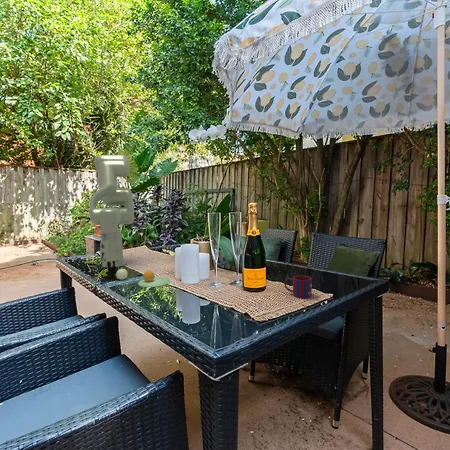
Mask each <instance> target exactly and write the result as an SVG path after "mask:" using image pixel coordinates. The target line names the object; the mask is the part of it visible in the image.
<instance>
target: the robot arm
mask: <svg viewBox="0 0 450 450" xmlns="http://www.w3.org/2000/svg"><path fill="white" fill-rule="evenodd" d="M93 163H94V167H95V170H96V172H97V174H98V189H97V190H96V191H95V193H93V195H92V197H91V199H90V201H89V219H90V222H91V223H92V224H94V225H100V227H99V228H100V238H101V239H100V243H99V257H100V258H99V260H100V261H101V266H102V267H103V268H107V272H108V274H107V275H108V276H116V273H117V268H118V267H123V266H125V265H127V261H126V260H124V251H123V235H122V234H123V233H122V231H121V229H119V226H120V225H122V226H123V225H131V224H133V223H134V221H135V210H134V209H135V208H134V196H133V192H132V190H131V189H130V188H128V187H119V183H118V182H119V181H118V178H126V177H128V176H129V174H130V164H129V163H130V162H129V158H128V156H127V155H125V154H99V155H96V156H95V157H94V162H93ZM101 200H102V203H103V204H104V205H106V206H111V207H103V208H102V207H100V208H99V207H98V208H97V204H98V203H99V202H100V201H101ZM113 206H116V207H113ZM117 206H118V207H117ZM121 206H122V207H121Z"/></svg>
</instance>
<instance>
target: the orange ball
mask: <svg viewBox="0 0 450 450" xmlns="http://www.w3.org/2000/svg"><path fill="white" fill-rule="evenodd" d="M155 275H156V274H155V273H154V271H152V270H146V271H144V272H143V274H142V278H143V279H144V280H145V281H147V282H150V281H152V280H153V279H154V277H155ZM143 279H142V280H143Z"/></svg>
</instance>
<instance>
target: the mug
mask: <svg viewBox="0 0 450 450" xmlns="http://www.w3.org/2000/svg"><path fill="white" fill-rule="evenodd" d="M287 280H291V282H292V289H290V288H289V287H288V286H287ZM312 281H313V279H312V277H310V276H309V275H295V276H293V278H292V277H286V278H285V279H284V283H283V284H284V287H285V289H286V290H287V291H288V292H291V293H292V296H293V297H294V298H297V299H300V298H301V300H303V299H304V300H305V299H307V300H308V299H310V298H312V296H313V295H312V294H313V293H312V289H313V287H312V286H313V285H312Z"/></svg>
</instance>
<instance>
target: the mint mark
mask: <svg viewBox="0 0 450 450" xmlns="http://www.w3.org/2000/svg"><path fill="white" fill-rule="evenodd" d="M169 282H170V283H171V279H170V278H168V277H162V276H161V277H160V276H159V277H158V276H156V277H155V276H154V279H153V280H152V281H150V282H147V281H145V280H144V279H141V280H139V281H138V282H137V285H138V286H140V287H143V288H157V287H163V286H165V285H166V286H167V285H168V284H170V283H169Z"/></svg>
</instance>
